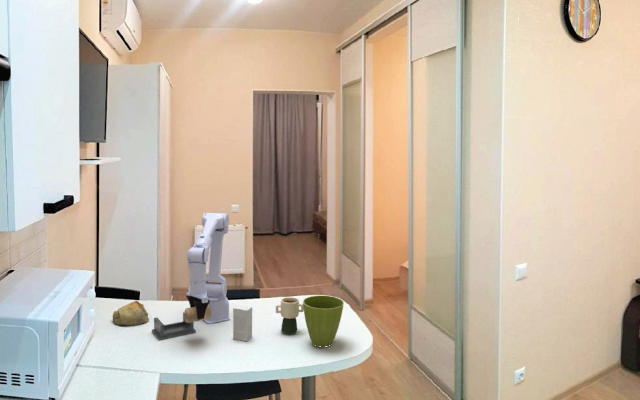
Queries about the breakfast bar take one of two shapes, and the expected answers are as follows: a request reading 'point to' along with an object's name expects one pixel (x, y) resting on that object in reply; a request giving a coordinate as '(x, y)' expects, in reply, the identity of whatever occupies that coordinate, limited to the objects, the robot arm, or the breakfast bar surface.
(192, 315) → the cylinder
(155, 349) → the breakfast bar surface
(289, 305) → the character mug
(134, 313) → the pastry
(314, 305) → the flower pot
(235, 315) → the skincare box
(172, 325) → the holder
